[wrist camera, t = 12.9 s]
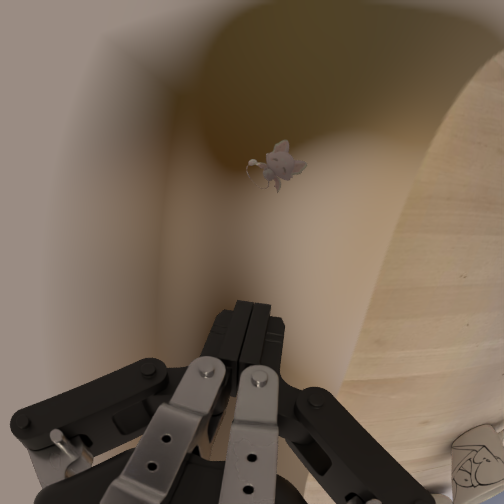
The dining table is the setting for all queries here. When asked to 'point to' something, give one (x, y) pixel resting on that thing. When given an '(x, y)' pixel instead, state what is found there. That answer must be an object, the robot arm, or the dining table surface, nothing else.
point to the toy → (280, 164)
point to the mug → (477, 465)
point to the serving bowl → (442, 499)
